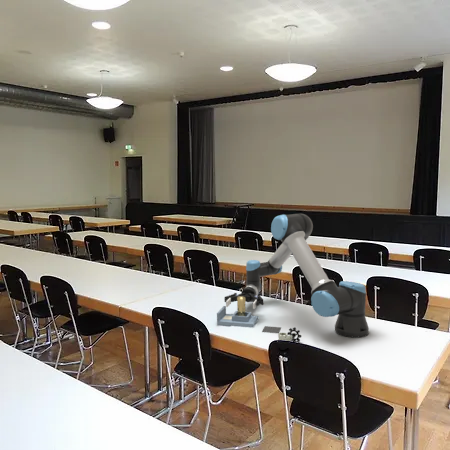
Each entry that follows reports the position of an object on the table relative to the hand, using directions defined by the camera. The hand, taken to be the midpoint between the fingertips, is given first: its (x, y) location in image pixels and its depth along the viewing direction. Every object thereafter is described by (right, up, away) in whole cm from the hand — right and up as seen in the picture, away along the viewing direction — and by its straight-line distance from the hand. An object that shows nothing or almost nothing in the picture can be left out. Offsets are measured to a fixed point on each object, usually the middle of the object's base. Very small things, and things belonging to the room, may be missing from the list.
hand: (240, 305), depth 210 cm
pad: (+15, -11, -7) cm, 19 cm away
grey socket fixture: (-1, -10, +5) cm, 11 cm away
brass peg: (+1, -8, +4) cm, 9 cm away
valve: (+20, -13, -25) cm, 34 cm away
